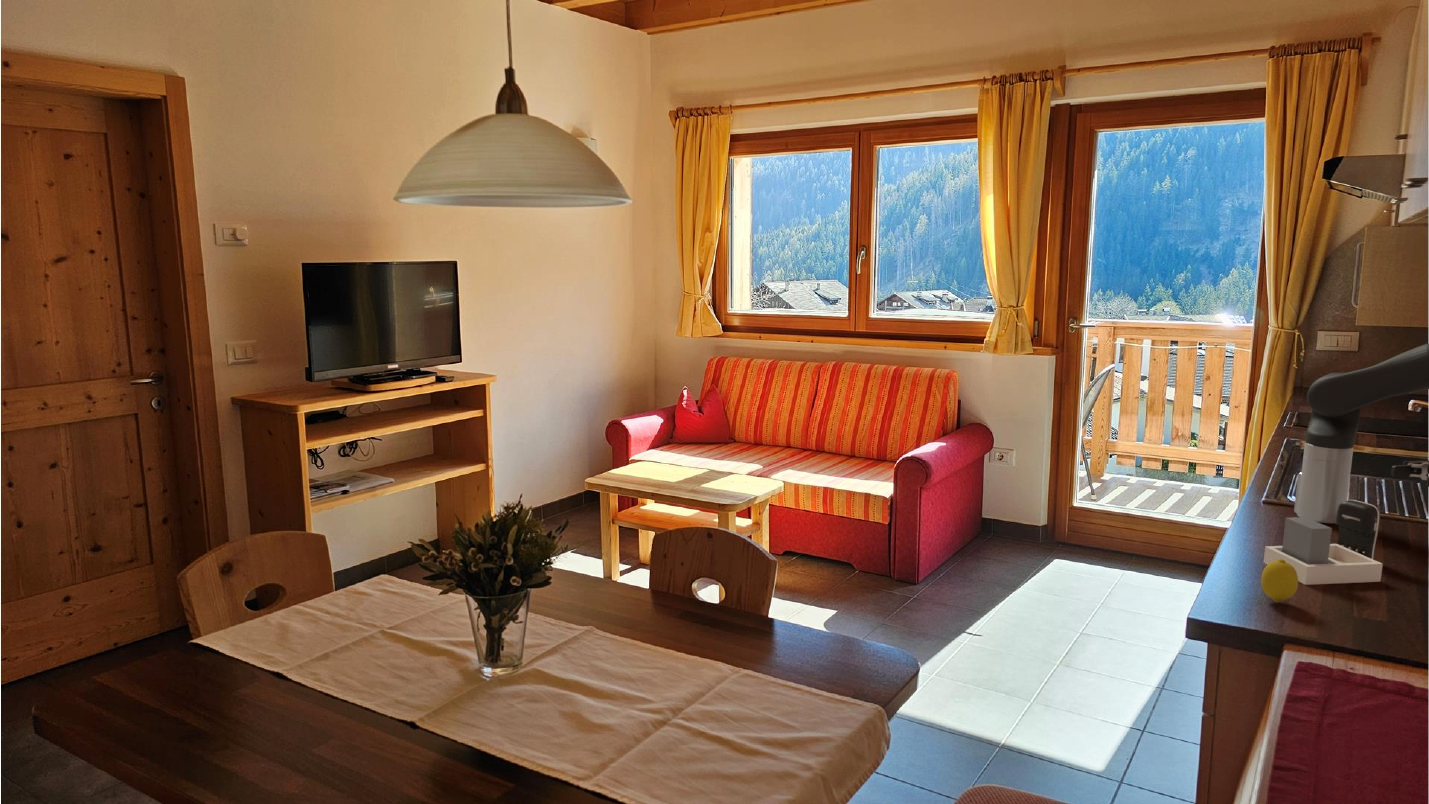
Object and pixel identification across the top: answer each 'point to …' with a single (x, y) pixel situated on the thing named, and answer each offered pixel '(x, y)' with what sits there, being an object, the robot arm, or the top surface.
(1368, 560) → the dock
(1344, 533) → the battery charger
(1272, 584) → the lemon
